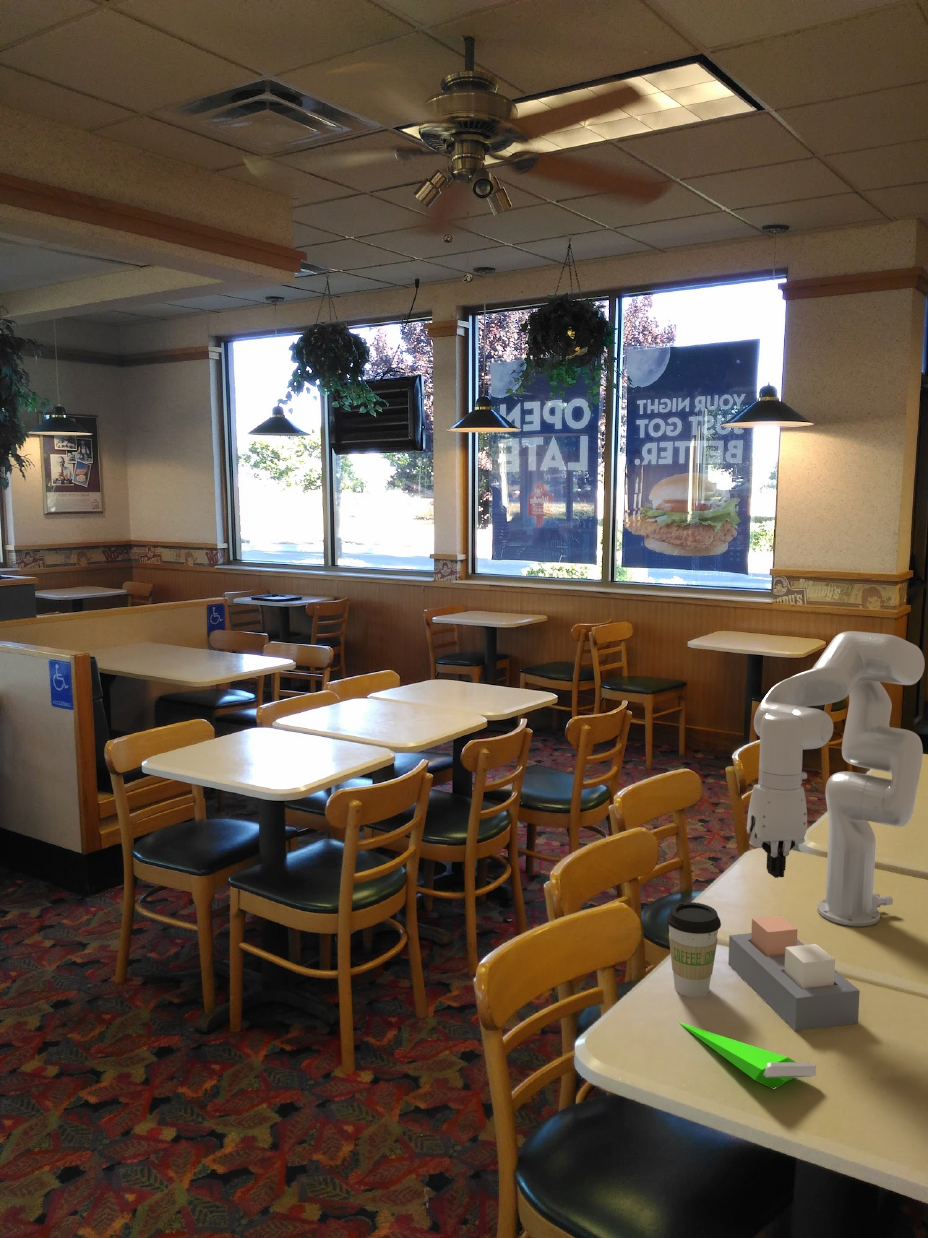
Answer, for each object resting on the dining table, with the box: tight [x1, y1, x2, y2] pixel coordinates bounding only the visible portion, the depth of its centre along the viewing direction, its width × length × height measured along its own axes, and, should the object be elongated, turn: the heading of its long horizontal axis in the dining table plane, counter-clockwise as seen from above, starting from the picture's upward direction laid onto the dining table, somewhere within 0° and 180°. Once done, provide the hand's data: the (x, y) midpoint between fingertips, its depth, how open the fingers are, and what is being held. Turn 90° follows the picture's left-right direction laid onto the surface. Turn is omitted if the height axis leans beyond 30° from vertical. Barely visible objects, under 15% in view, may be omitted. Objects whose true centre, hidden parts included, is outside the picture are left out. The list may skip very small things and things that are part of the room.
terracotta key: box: [750, 915, 798, 957], centre depth 181 cm, size 6×6×6 cm
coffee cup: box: [665, 901, 722, 998], centre depth 177 cm, size 10×10×15 cm
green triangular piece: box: [678, 1022, 817, 1089], centre depth 156 cm, size 11×5×25 cm
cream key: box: [784, 943, 836, 989], centre depth 169 cm, size 6×6×6 cm
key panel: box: [728, 932, 860, 1032], centre depth 176 cm, size 12×24×6 cm, turn 12°
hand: (775, 874), depth 179 cm, fingers closed
